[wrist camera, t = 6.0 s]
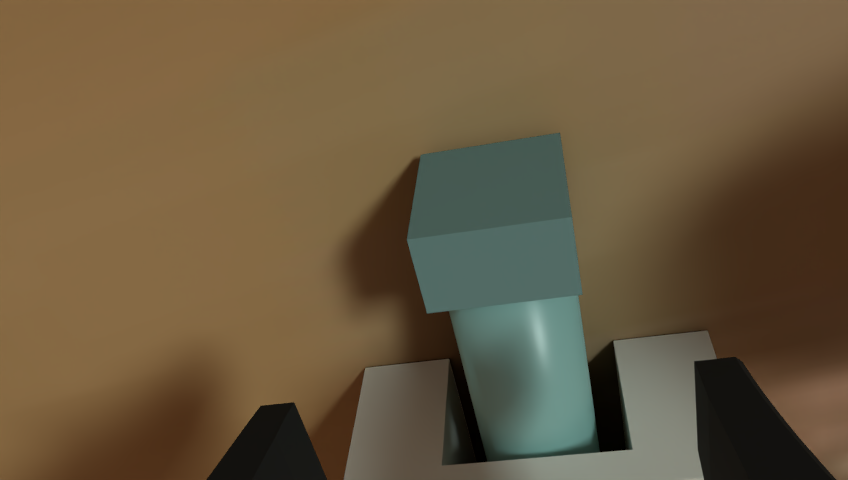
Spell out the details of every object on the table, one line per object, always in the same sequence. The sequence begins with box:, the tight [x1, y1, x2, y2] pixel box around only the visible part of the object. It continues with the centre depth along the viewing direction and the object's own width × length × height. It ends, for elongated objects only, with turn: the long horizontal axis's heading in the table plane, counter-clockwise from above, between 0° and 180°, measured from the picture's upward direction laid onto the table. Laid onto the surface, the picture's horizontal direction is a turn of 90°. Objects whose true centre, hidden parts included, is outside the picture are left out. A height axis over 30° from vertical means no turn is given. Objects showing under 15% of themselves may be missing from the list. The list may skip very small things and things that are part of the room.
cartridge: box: [407, 133, 600, 462], centre depth 22 cm, size 3×15×4 cm, turn 12°
